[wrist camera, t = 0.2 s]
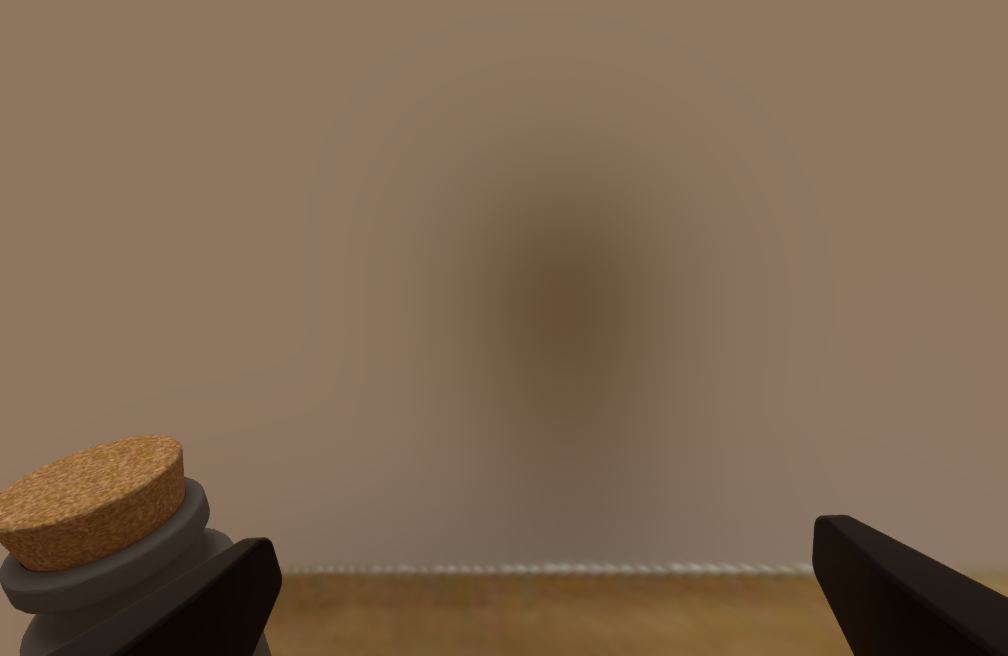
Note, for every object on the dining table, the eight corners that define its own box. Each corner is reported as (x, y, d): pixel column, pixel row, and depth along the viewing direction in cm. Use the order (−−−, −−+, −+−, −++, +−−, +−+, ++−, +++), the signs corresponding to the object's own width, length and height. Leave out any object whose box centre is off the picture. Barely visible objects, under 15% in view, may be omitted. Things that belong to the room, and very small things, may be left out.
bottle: (154, 759, 20) (13, 457, 16) (299, 691, 22) (211, 409, 18) (111, 948, 15) (-116, 580, 11) (304, 836, 17) (184, 492, 13)
